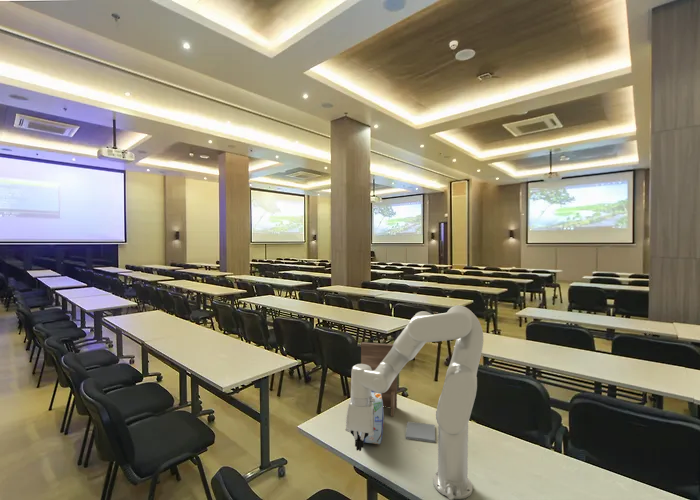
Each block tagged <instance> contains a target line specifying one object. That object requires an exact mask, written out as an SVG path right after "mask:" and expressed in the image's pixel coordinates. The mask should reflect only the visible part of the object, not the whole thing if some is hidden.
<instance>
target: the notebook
mask: <svg viewBox="0 0 700 500" xmlns="http://www.w3.org/2000/svg"><path fill="white" fill-rule="evenodd" d="M405 439H406V440H413V441H418V442H419V441H420V442H427V443H436V427H435V424H430V423H421V422H413V421H407V422H406V431H405Z"/></svg>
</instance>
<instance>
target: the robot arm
mask: <svg viewBox="0 0 700 500" xmlns="http://www.w3.org/2000/svg"><path fill="white" fill-rule="evenodd" d="M453 340H455V344H454V348H453V352H452V356H451V359H450V362H449V365H448V367H447V370H446V373H445V378H444V382H443V386H442V388H441V389H442V390H441V394H440V395H439V398H438V402H437V407H436V411H435V420H436V422H437V425H438V426H437V427H438V428H437V429H438V430H437V432H438V433H437V434H438V435H437V446H438V447H437V472H436V473H435V474H434V475H433V478H432V482H433V487H434V488H435V489H436V491H438V493H440V494H441V495H443V496H445V497H447V498H448V500H462V499H463V500H464V499H467V498H468V497H470V496H471V495H472V494H473V483H472V481H471V480H470V479H469V477H468V474H469V473H468V471H469V468H468V465H469V463H468V462H469V461H468V460H469V458H468V457H469V455H468V454H469V453H468V452H469V421H470V418H471V414H472V411H473V407H474V403H475V401H476V400H475V399H476V396H477V391H478V377H477V375H478V369H479V366H480V362H481V361H480V360H481V356H482V353H483V347H484V331H483V327H482V324H481V322H480V320H479V318H478V317H477V315H475V313H473V312H472V310H470V308H468V307H466V306H464V305H459V304H458V305H454V306H452V307H450V308H448V310H447V312H443V313H435V314H432V313H430V312H428V311H427V310H426V311H423V310H422V311H418V312H416V313H415V315H413V316H412V318H411V319H410V320H409V322H408V323H407V324H406V326H405V327H404V329H402V331H401V332H400V334H399V335H398V336H397V338H395V340H394V342H393V347H392V349H391V350H390V351H389V353H388V354H387V355H386V357H385V358H384V359H383V361H382V362H381V363H380V365H379V366H378V367H377V368H376V369H375V370H373V371H372V369H371V367H370V366H369V365H366V364H361V363H357V364H355V365H353V366H352V367H351V373H350V375H351V381H350V399H349V401H348V405H347V411H346V419H345V429H344V430H345V432H347V433H350V434H351V435H352V436H353V438H354V447H356V448H355V450H356V451H357V452H358V451H359V452H361V451H362V449H364V446H365V442H364V439H365V438H366V437H367V436H373V435H374V428H373V427H374V405H373V402H375V398H373V397H372V394H371V391H374V392H376V393H385V392H386V391H387V390H388V389H389V387H390V386H391V384H392V382H393V381H394V379H395V378H396V376H397V377H398V375H399V374H400V372H401V371H402V370H403V368H404V367H405V366H406V365H407V363H408V362H409V361H412V360H414V358H416V356H417V354H418V353H419V352H420V351H421V349H423V347H424V346H425V344H427V343H431V342H432V343H434V342H443V341H453ZM359 432H362V433H361V436H360V435H359Z"/></svg>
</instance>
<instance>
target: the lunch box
mask: <svg viewBox="0 0 700 500" xmlns="http://www.w3.org/2000/svg"><path fill="white" fill-rule="evenodd" d="M371 394H372V397H373V398H375V402H373V405H374V427H373V428H374V435H373V436H367V437H366V438H365V439H364V443H366V444H375V445H381V443H382V441H383V433H384V424H385V423H384V422H385V421H384V419H385V416H384V407H383V400H382V394H381V393H376V392H374V391H371ZM361 433H362V432H359V435H360V436H361Z"/></svg>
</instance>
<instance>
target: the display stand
mask: <svg viewBox="0 0 700 500" xmlns="http://www.w3.org/2000/svg"><path fill="white" fill-rule="evenodd" d="M392 347H393V344H391V343H378V342H365V341H364V342H363V341H362V342H360V349H361V350H360V364H366V365H369V366H370V367H371V369H372V371H373V370H375V369H376V368H377V367H378V366H379V365H380V363H381V362H382V361H383V359H384V358H385V357H386V355H387V354H388V353H389V351H390V350H391V349H392ZM381 394H382V400H383V406H386V407H391V408H390V417H394V416H393V415H395V411H396V409H395V408H397V409H398V375H397V376H396V378H395V379H394V381H393V382H392V384H391V386H390V387H389V389H388V390H387V391H386V392H385V393H381ZM386 407H385V408H386ZM394 410H395V411H394Z"/></svg>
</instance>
